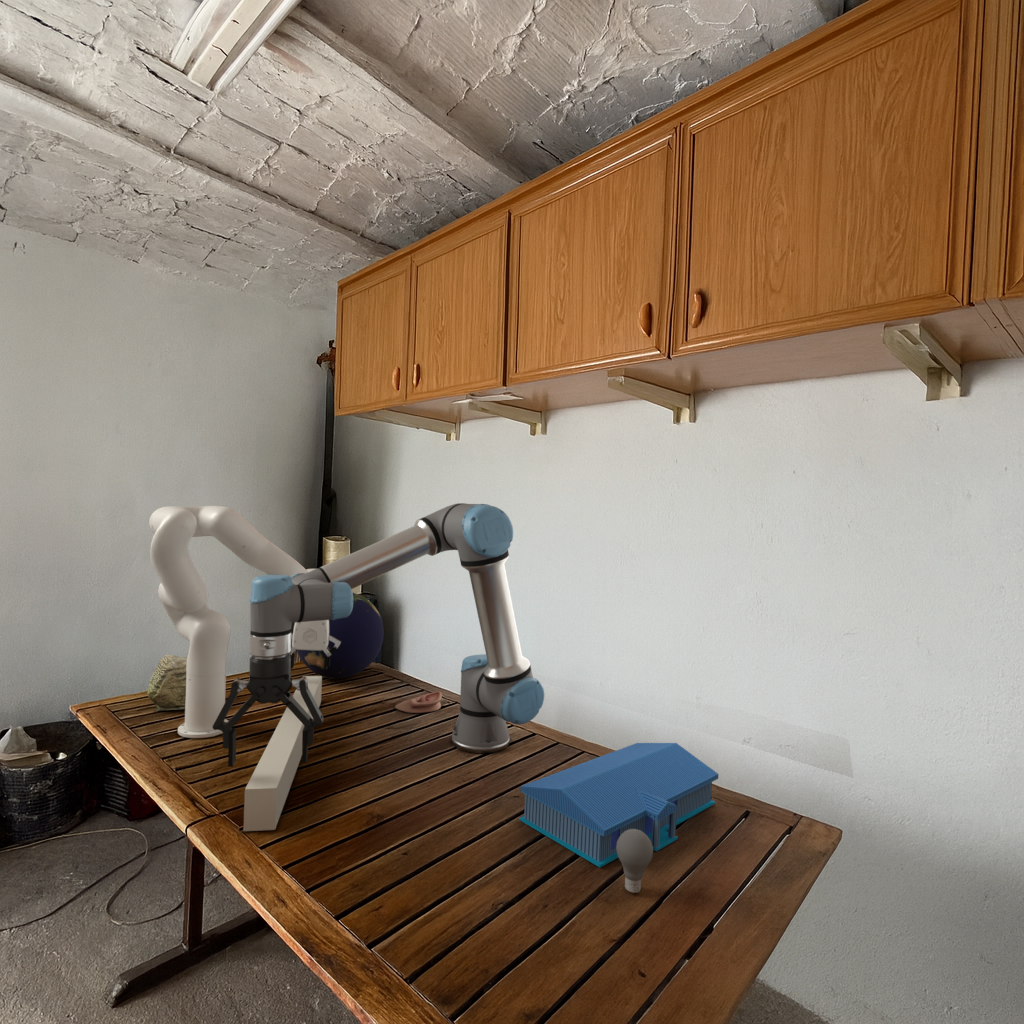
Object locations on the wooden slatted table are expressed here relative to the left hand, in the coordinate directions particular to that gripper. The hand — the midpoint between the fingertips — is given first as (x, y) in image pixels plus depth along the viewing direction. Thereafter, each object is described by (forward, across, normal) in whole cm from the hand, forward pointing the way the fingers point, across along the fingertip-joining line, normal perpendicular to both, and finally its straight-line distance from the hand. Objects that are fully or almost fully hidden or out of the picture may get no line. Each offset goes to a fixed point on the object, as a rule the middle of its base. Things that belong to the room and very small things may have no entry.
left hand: (308, 668), depth 188 cm
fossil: (+13, -35, +4) cm, 37 cm away
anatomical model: (+11, +33, -1) cm, 35 cm away
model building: (+11, +74, -70) cm, 103 cm away
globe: (+11, +6, +32) cm, 35 cm away
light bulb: (+12, +66, -95) cm, 116 cm away
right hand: (+3, +1, -65) cm, 65 cm away
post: (+13, +1, -32) cm, 34 cm away
